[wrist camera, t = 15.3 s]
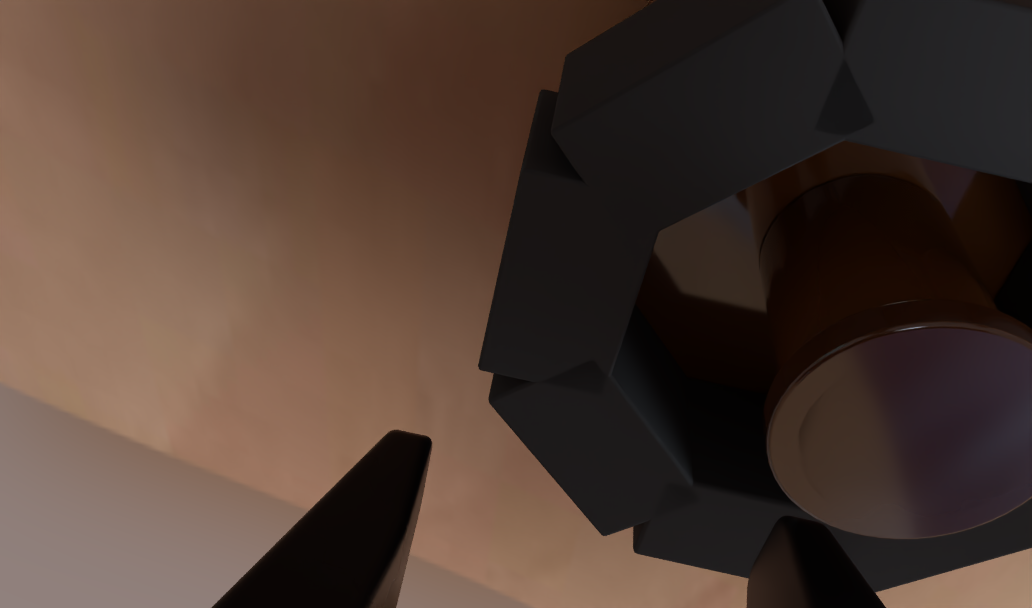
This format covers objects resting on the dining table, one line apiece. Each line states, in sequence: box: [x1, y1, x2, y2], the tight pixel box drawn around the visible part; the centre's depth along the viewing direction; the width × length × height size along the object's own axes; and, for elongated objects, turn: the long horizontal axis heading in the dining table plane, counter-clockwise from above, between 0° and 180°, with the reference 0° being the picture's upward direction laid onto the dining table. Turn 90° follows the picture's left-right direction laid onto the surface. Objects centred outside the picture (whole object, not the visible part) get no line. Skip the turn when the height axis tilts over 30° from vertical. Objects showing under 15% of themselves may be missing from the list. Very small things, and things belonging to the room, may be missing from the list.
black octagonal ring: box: [478, 0, 1032, 592], centre depth 13 cm, size 9×9×2 cm
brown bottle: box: [635, 0, 1032, 539], centre depth 15 cm, size 8×8×10 cm
